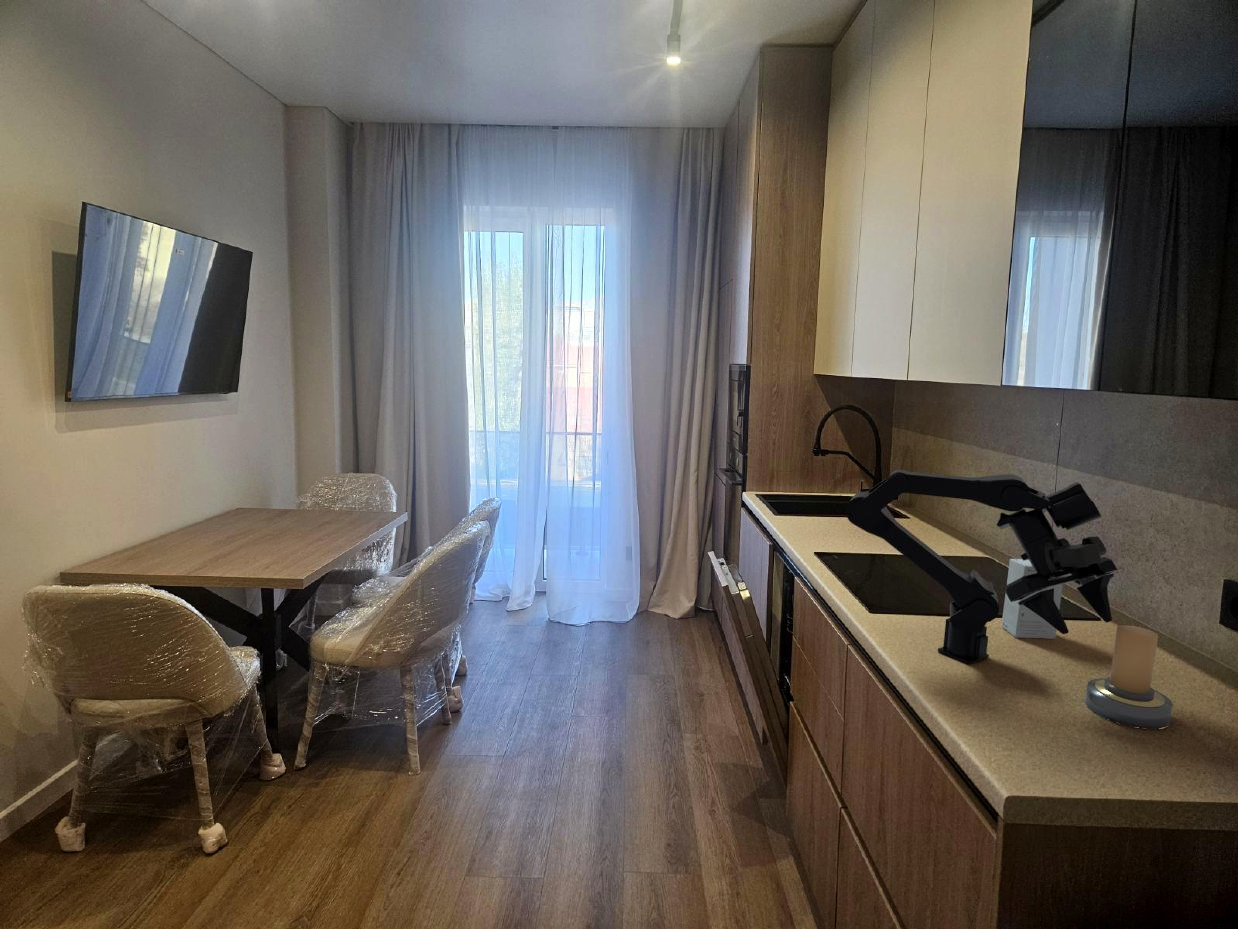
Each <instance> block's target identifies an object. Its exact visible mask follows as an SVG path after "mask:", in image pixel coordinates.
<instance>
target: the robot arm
mask: <svg viewBox="0 0 1238 929" xmlns="http://www.w3.org/2000/svg"><path fill="white" fill-rule="evenodd" d="M902 494H911V495H923V496H929V497H930V496H931V497H938V498H939V497H941V498H951V499H957V500H958V499H959V500H960V499H961V500H969V501H973V502H977V503H979V504H983V505H985V506H988V507H991V508H994V509H995V508H996V509H999V510H1003V511H1007V512H1010V514H1007V513H1004V512H1000V514H999V518H998V521H997V523H996V526H997V527H998V529H999V530H1005V529H1007V528H1009V527H1010V528H1011V530H1012V531H1013V534H1014V535H1015V537H1016V539H1017V540H1018V543H1019V544H1020V546H1021V549H1022V550H1023V552H1024V553H1022V554H1021V555H1020V558H1022V559H1023V561H1025V560H1029V561H1030V563H1031V565H1032V566H1033V568H1034V570H1035V572H1036V573H1035V574H1031V575H1027V576H1023V577H1021V578H1019V579H1017V580H1016V581H1014V582H1012V583H1010V584H1008V585H1007V584H1006V587H1005V595H1006V594H1007V596H1008V598H1009V600H1010V602H1014V601H1018V600H1022V599H1023V600H1022V601H1020V602H1018V604H1019V605H1024V606H1025V607H1027V608H1028V609H1030V610H1031V611H1033V612H1034V613H1036V614H1037V615H1039V616H1040V617H1041V618H1043V619H1044V620H1045V621H1047V622H1048V623H1049V624H1050V625H1052V626H1053V627H1054V628H1055V629H1057V630H1056V631H1058V632H1060V634H1062V635H1066V634H1068V633H1069V632H1070V631H1069V629H1068V626H1067V623H1066V622H1065V619H1064V617H1063V616H1062V614H1061V612H1060V609H1059V610H1058V608H1057V606H1056V604H1055V602H1054V588H1053V589H1049V590H1047V588H1048V587H1052V586H1056V585H1060V584H1063V585H1064V584H1067V583H1071V582H1074V583H1075V584H1077V585H1079V586H1078V587H1076V589H1077V591H1078V592H1079V593H1080V594H1081V596H1082V597H1083V598H1084V600H1086V602H1088V604H1089V605H1090V606H1091V607H1092V609H1093V610H1094V611H1095V613H1096V614H1097V615H1098V616H1099V617H1100V618H1101V619H1102V620H1103V621H1104V622H1105V623H1106V624H1107V623H1110V622H1112V621H1113V618H1112V612H1111V606H1110V601H1109V594H1108V593H1109V592H1108V586H1109V583H1110V581H1111V579H1112V578H1114V576H1115V574H1114V573H1115V572H1117V571H1118V568H1117V566H1116V565H1115V563H1114V561H1113V560H1112V559H1110V558H1108V557H1106V556H1105V555H1106V553H1107V548H1106V547H1105V544H1104V543H1103V541H1102V540H1101V539H1100V537H1099V536H1096V535H1095V536H1089V537H1085V538H1082V540H1081V543H1079V544H1073V545H1072V544H1071V543H1070V542H1069V541H1068V539H1066V538H1065V537H1063V538H1059V537H1058V536H1057V534H1056V533H1055V530H1054V529H1053V527H1052V525H1051V523H1050V521H1049V519H1048V518H1047V517H1046V514H1045V513H1048V515H1049V516H1050V518H1051V520H1052V521H1053V523H1054V525H1055V527H1056V528H1057V529H1059V528H1061V529H1063V530H1064V529H1065V530H1066V531H1070V530H1072V529H1075V528H1077V527H1080V526H1082V525H1085V524H1087V523H1088V524H1089V523H1090V522H1093V521H1095V520H1098V519H1101V518H1102V515H1101V513H1100V511H1099V509H1098V507H1097V506H1096V504H1095V503H1094V501H1093V500H1092V499H1091V498H1090V496H1089V495H1088V493H1087V491H1086V490H1085V489H1084V487H1083V485H1082V484H1081V483H1080V482H1078V481H1077V482H1074V483H1072V484H1070V485H1068V486H1067V487H1065V488H1063V489H1060V490H1058V491H1055V492H1053V493H1050V494H1048V495H1046V493H1044V492H1043V491H1042V490H1040V491H1039V490H1037V489H1035V488H1032V487H1030V486H1029V485H1028V483H1027V482H1026V480H1024V479H1023V478H1022V477H1021V476H1018V475H1016V474H1012V473H1011V474H998V475H997V474H993V475H991V474H990V475H985V476H976V477H969V476H959V475H957V476H956V475H949V474H948V475H947V474H938V473H937V474H935V473H926V472H916V471H907V470H905V469H896V470H894V471H893V472H891V473H890V475H889V476H887V477H886V478H885V479H883V480H882V481H880V482H879V483H877V484H876V485H874V486H873V487H871V489H869V490H868V491H859V492H857V493H855V494H854V495H853V496H852V497H851V499H850V500H849V502H848V503H847V504H846V508H845V513H846V514H845V515H846V519H847V520H848V521H849V522H850V524H852V525H854V526H856V527H857V528H859V529H861V530H862V531H865V532H866V533H868V534H870V535H872V536H876V537H878V538H880V539H882V540H884V541H885V542H886V543H887V544H889V545H890V546H891V547H893V548H894V549H895V550H896V551H898V552H899V553H900V554H901V555H903V557H905V558H906V559H907V560H908V561H910V562H911V563H913V564H914V565H915V566H916V567H918V568H919V569H920V570H921V571H922V572H924V573H925V574H926V575H927V576H928V577H930V578H931V579H932V580H934V581H935V582H936V583H937V584H939V586H941V587H942V588H943V589H944V590H945V591H946V592H947V593H948V595H949V596H950V597H951V599H952V600H953V601H952V602H951V601H950V603H949V617H948V618H946V619H945V623H944V624H945V625H944V634H943V635H944V636H943V644H942V646H941V647H939V648H937V652H938V653H941V654H943V655H945V656H948V657H950V658H952V659H955V660H957V661H961V662H963V663H965V664H968V665H969V664H972V663H976V662H979V661H981V660H984V659H988V658H989V656H990V655H989V654H988V653H987V650H988V643H989V636H988V635H987V630H988V629H987V628H988V627H987V626H986V625H987V624H988V623H990V622H992V621H993V620H995V619H996V618H997V616H998V615H999V611H1000V606H999V600H998V596H997V592H996V591H995V589H994V586H993V582H992V581H988V580H986V579H985V578H983V577H982V576H981V575H980V573H978V571H977V570H975V569H973V570H971V572H970V574H968V573H966V572H963V571H961V570H959V569H958V568H956V567H955V566H954V565H952V564H951V563H950V562H949V561H947V560H946V559H945V558H943V557H942V556H941V555H940V554H939V553H937V552H936V551H934V550H933V549H932V548H931V547H929V546H928V545H927V544H926V543H925V542H924V541H922V540H921V539H919V538H918V537H917V536H915V535H914V534H913V533H912V532H911V531H909V530H908V529H907V528H906V527H905V526H903V525H902V524H900V523H899V522H898V520H897V519H896V518H895V517H894V516H893V514H892V513H891V512H890V510H889V509H888V508H887V506H888V505H890V504H891V503H892V502H893V501H894V500H896V498H898V497H899V496H900V495H902ZM1026 509H1030V510H1028V511H1026ZM1011 512H1012V513H1011Z"/></svg>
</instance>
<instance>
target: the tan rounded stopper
mask: <svg viewBox="0 0 1238 929" xmlns="http://www.w3.org/2000/svg"><path fill="white" fill-rule="evenodd" d="M1158 640H1159V634H1158V633H1156V632H1155V631H1152V630H1150V629H1147V628H1144V627H1140V626H1134V625H1123V624H1122V625H1118V626H1117V627H1116V632H1115V640H1114V648H1113V654H1112V655H1113V656H1112V661H1111V668H1110V676H1109V677H1107V678H1106V677H1105V678H1106V679H1105V684H1104V688H1105V689H1106V690H1107V691H1108V692H1110V693H1112V694H1114V695H1116V696H1118V697H1121V698H1124V699H1128V700H1132V701H1138V702H1149V701H1152V700H1153V699H1154V693H1155V691H1154V690H1155V689H1154V688H1152V687H1151V685H1152V680H1153V672H1154V666H1155V659H1156V653H1157V645H1158ZM1153 689H1154V690H1153Z"/></svg>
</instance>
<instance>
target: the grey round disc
mask: <svg viewBox="0 0 1238 929" xmlns="http://www.w3.org/2000/svg"><path fill="white" fill-rule="evenodd" d="M1105 679H1106V677H1102V678H1101V677H1100V678H1094V679H1091V680H1089V681H1088V682H1087V685H1086V692H1085V693H1086V694H1085V700H1084V704H1085V705H1087V706H1086V707H1087V708H1088V709H1089V710H1090V711H1091V712H1092V713H1094V712H1095V713H1096V715H1097V714H1098V715H1097V716H1099V715H1100V716H1099V717H1101V716H1102V717H1101V718H1102V719H1103V718H1104V719H1105V720H1107V719H1109V720H1110V721H1109V720H1108V721H1109V722H1112V721H1113V723H1115V722H1118V723H1120V724H1119V725H1121V724H1122V726H1124V725H1125V727H1128V726H1132V727H1131V728H1133V727H1139V728H1146V729H1159V728H1162V727H1166V726H1168V725H1169V724H1170V725H1171V719H1172V713H1173V712H1172V711H1173V705H1174V703H1173V702H1172V700H1171V699H1170V698H1169V697H1168V696H1167V695H1165V694H1163V693H1162V692H1159V691H1158V690H1156V689H1155V688H1152V689H1153V690H1154V691H1155V693H1154V699H1153V700H1152V701H1149V702H1138V701H1132V700H1128V699H1124V698H1121V697H1118V696H1116V695H1114V694H1112V693H1110V692H1108V691H1107V690H1106V689H1105V688H1104V684H1105ZM1095 713H1094V714H1095ZM1118 723H1117V724H1118ZM1170 725H1169V726H1170ZM1169 726H1168V727H1169Z"/></svg>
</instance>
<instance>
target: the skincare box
mask: <svg viewBox="0 0 1238 929" xmlns="http://www.w3.org/2000/svg"><path fill="white" fill-rule="evenodd" d="M1035 573H1036V572H1035V570H1034V568H1033V566H1032V565H1031V563H1030V561H1029V560H1025V561H1023V559H1021V558H1009V564H1008V574H1007V581H1006V586H1007V585H1008V584H1010V583H1012V582H1014V581H1016V580H1017V579H1019V578H1021V577H1023V576H1027V575H1031V574H1035ZM1063 585H1064V584H1060V585H1056V586H1052V587H1048V588H1047V590H1049V589H1053V588H1054V602H1055V604H1056V606H1057V608H1058V610H1059V611H1060V608H1061V599H1062V594H1063ZM1004 595H1005V597H1004V604H1003V611H1002V618H1001V619H1002V620H1001V627H1002V629H1004V630H1005V631H1006V632H1008V633H1009V635H1012V636H1013V637H1014V638H1016V639H1017V638H1019V639H1023V638H1024V639H1049V640H1054V639H1056V635H1057V631H1058V630H1057V629H1055V628H1054V627H1053V626H1052V625H1050V624H1049V623H1048V622H1047V621H1045V620H1044V619H1043V618H1041V617H1040V616H1039V615H1037V614H1036V613H1034V612H1033V611H1031V610H1030V609H1028V608H1027V607H1025V606H1024V605H1019V604H1018V602H1020V601H1022V600H1023V599H1022V600H1018V601H1014V602H1010V600H1009V598H1008V596H1007V594H1006V593H1005V594H1004Z"/></svg>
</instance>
